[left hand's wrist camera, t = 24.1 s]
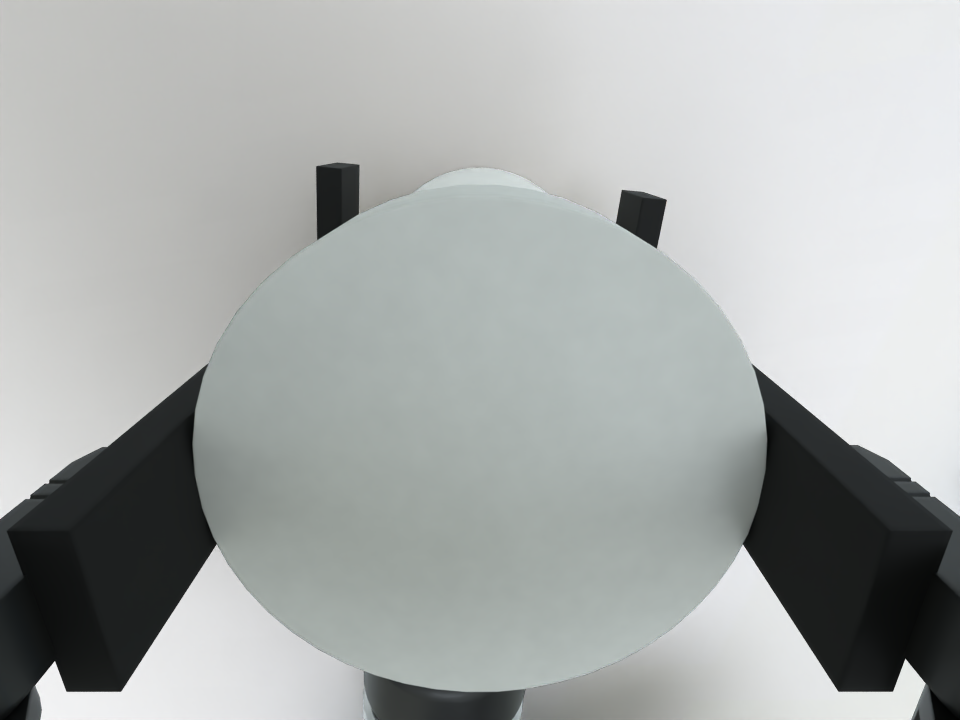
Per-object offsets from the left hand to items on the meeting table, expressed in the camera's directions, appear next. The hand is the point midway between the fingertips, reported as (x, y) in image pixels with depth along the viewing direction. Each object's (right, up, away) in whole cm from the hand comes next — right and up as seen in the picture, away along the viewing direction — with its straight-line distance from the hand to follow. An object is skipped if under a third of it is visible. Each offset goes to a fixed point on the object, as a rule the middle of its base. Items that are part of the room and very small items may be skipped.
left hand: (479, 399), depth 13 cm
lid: (0, -1, -3) cm, 3 cm away
